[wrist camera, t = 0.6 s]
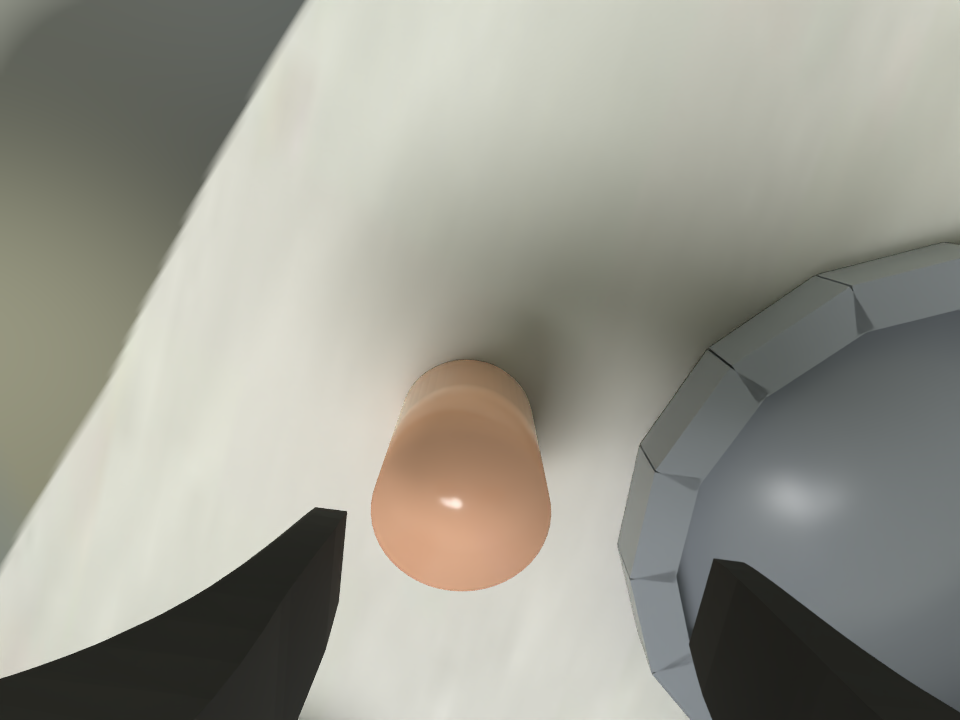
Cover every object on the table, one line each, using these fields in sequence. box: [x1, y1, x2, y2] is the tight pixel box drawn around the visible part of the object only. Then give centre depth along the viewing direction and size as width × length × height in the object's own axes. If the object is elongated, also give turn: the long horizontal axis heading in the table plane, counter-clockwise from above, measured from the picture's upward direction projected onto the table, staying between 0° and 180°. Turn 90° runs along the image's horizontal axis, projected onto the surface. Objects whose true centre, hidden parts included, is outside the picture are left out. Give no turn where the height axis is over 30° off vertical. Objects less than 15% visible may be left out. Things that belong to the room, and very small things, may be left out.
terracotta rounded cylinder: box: [371, 360, 551, 591], centre depth 19 cm, size 4×4×6 cm
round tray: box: [618, 242, 960, 720], centre depth 21 cm, size 20×20×2 cm
